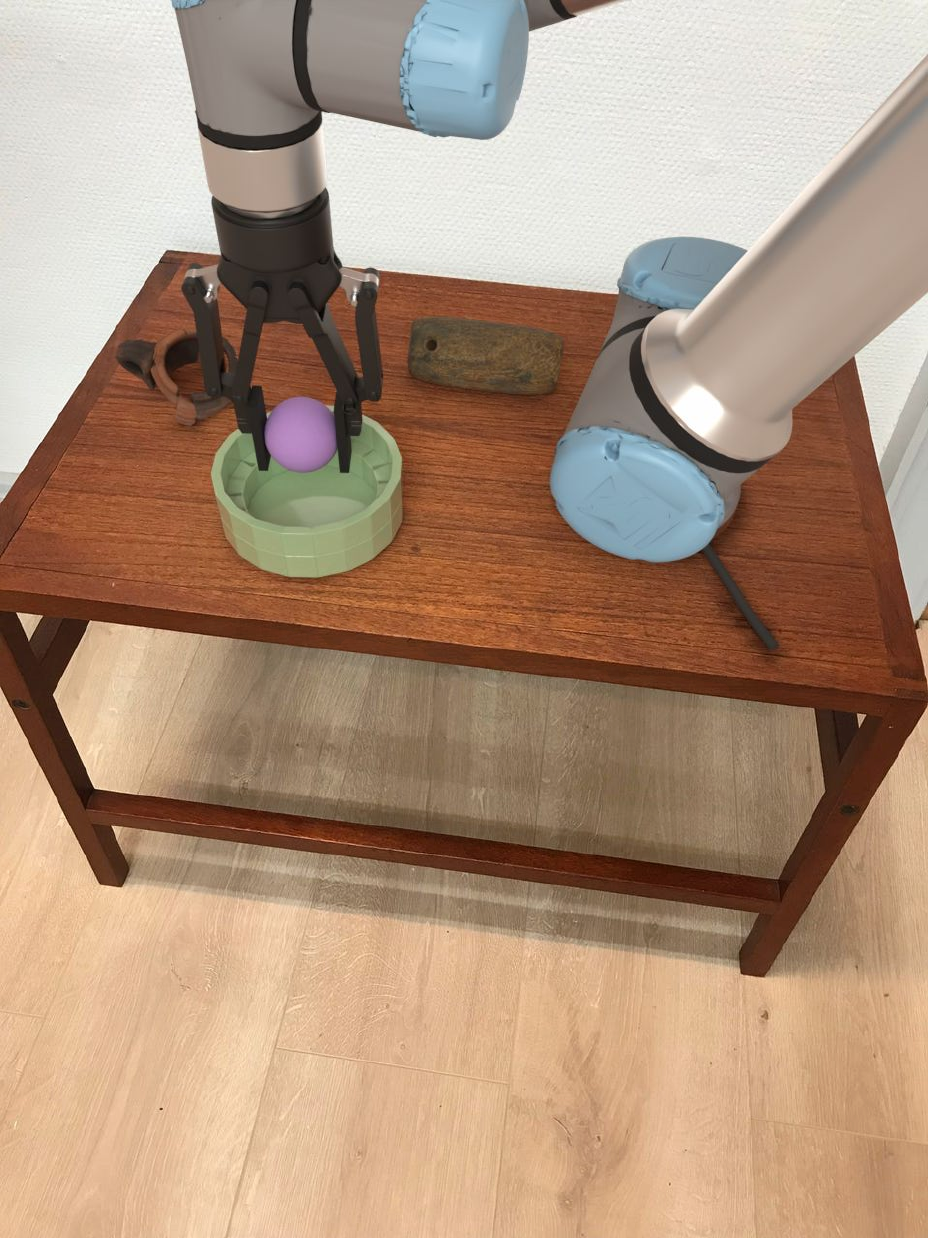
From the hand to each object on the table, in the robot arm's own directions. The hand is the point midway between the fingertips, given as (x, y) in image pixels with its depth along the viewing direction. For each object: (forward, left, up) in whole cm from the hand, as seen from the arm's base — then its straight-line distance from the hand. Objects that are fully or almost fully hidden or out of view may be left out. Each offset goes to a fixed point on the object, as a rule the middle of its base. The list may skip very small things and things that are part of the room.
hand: (305, 460), depth 81 cm
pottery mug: (+16, +14, -7) cm, 22 cm away
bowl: (0, 0, -7) cm, 7 cm away
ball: (0, 0, +3) cm, 3 cm away
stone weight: (+19, -15, -7) cm, 25 cm away
